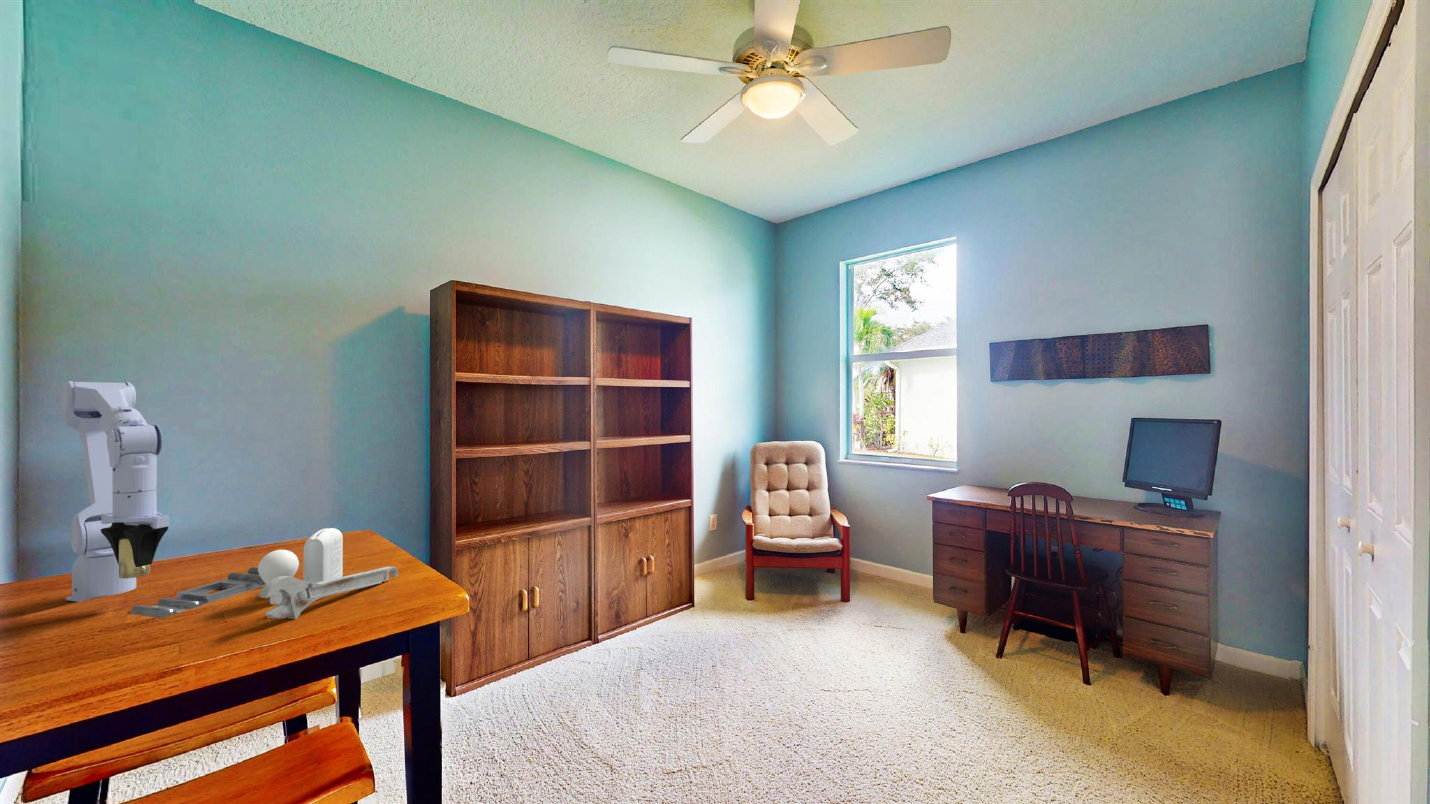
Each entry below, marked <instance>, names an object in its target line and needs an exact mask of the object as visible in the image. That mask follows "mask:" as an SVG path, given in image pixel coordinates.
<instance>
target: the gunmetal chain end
mask: <svg viewBox="0 0 1430 804" xmlns="http://www.w3.org/2000/svg"><path fill="white" fill-rule="evenodd" d="M265 585H266V584H265V582H264V581H263V580H262V578H261V577H260V575H259V572H258V566H251V567H250V568H249V569H248V571H247V572H245V573H244V572H243V573H242V572H231V573H229V574H228V576H227V578H224V579H221V580H218V581H215V582H211V583H207V584H204V585H201V586H197V587H196V586H195V587H194V588H193V587H192V588H189V589H185V590H182V591H179V592H176V599H180V600H187V601H195V602H203V603H208V604H210V602H211V603H214V602H217V601H221V600H223V598H224V599H226V597H227V598H230V597H234V596H236V594H237V595H239V593H240V594H242V592H243V593H246V592H249V591H252V590H256V589H260V588H263V587H264V586H265ZM220 588H222V590H220ZM216 589H217V590H220V591H217V590H216ZM213 590H214V591H216V592H213ZM209 591H210V592H213V593H210V592H209ZM245 591H246V592H245ZM206 592H207V593H206ZM229 596H230V597H229ZM220 599H221V600H220ZM216 600H217V601H216ZM213 601H214V602H213Z"/></svg>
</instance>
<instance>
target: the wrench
mask: <svg viewBox="0 0 1430 804" xmlns="http://www.w3.org/2000/svg"><path fill="white" fill-rule="evenodd" d="M389 573H390V574H389ZM398 573H399V570H398V568H397V567H396V566H384V567H380V568H375V569H371V570H366V571H362V572H357V573H352V574H348V575H345V576H342V577H340V578H335V579H331V580H326V581H322V582H318V583H311V582H305V581H303V580H302V579H299V578H296V577H288V576H280V577H276V578H273V579H272V580H271V581H269V582H268V583H267V584H266V585H265V586H262V587H261V590H260V592H259V598H261V599H268V598H270V596H271V595H273V594H275V593H276V592H278V591H279V592H281V593H282V596H283V598H282V601H281V603H280V604H276V606H274V607H272V608H270V609H269V610H268V611H266V612H265V616H266V617H267V618H270V619H278V620H279V619H281V620H283V619H286V618H288V619H290V620H297V619H298V618H299V617H300V616H301V613H302V612H303V611H304V610H305V609H307V608H308V607H309V606H310V605H312V603H314V602H315V601H317V600H319V599H321V598H325V597H326V598H327V597H329V596H333V595H338V594H341V593H346V592H350V591H355V590H358V589H359V590H360V589H363V588H367V587H371V586H374V585H375V586H376V585H379V584H383V583H382V581H387V580H388V579H389V577H396V576H397V577H398ZM397 577H396V578H397Z"/></svg>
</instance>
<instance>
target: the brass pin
mask: <svg viewBox="0 0 1430 804" xmlns="http://www.w3.org/2000/svg"><path fill="white" fill-rule="evenodd" d="M150 573H151V564H150V565H146V566H141V567H136V566H135V564H134V560H133V552H132V547H131V544H130V541H129V539H128V537H122V538H120V539H119V578H122V579H125V578H135V577H136V578H139V577H144V576H147V575H149V574H150Z"/></svg>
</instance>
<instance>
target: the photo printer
mask: <svg viewBox="0 0 1430 804" xmlns="http://www.w3.org/2000/svg"><path fill="white" fill-rule="evenodd" d="M343 543H344V535H343V534H342V532H341V531H340V530H339V529H337V528H335V527H332V528H331V527H329V528H328V527H327V528H322V529H319V530H317V531H316V532H315V533H313V534H312V535H311V536H310V537H308V539H307V540H306V542H305V543H304V545H303V569H302V570H303V571H302V573H303V574H302V575H303V576H302V577H303V578H302V579H303V580H302V581H305V582H311V583H318V582H322V581H326V580H331V579H335V578H340V577H344V576H343V574H344V573H343V572H344V571H343V568H344V567H343V565H344V563H343V561H344V559H343V558H344V556H343V553H344V552H343V551H344V549H343V548H344V547H343V546H344V545H343Z"/></svg>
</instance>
